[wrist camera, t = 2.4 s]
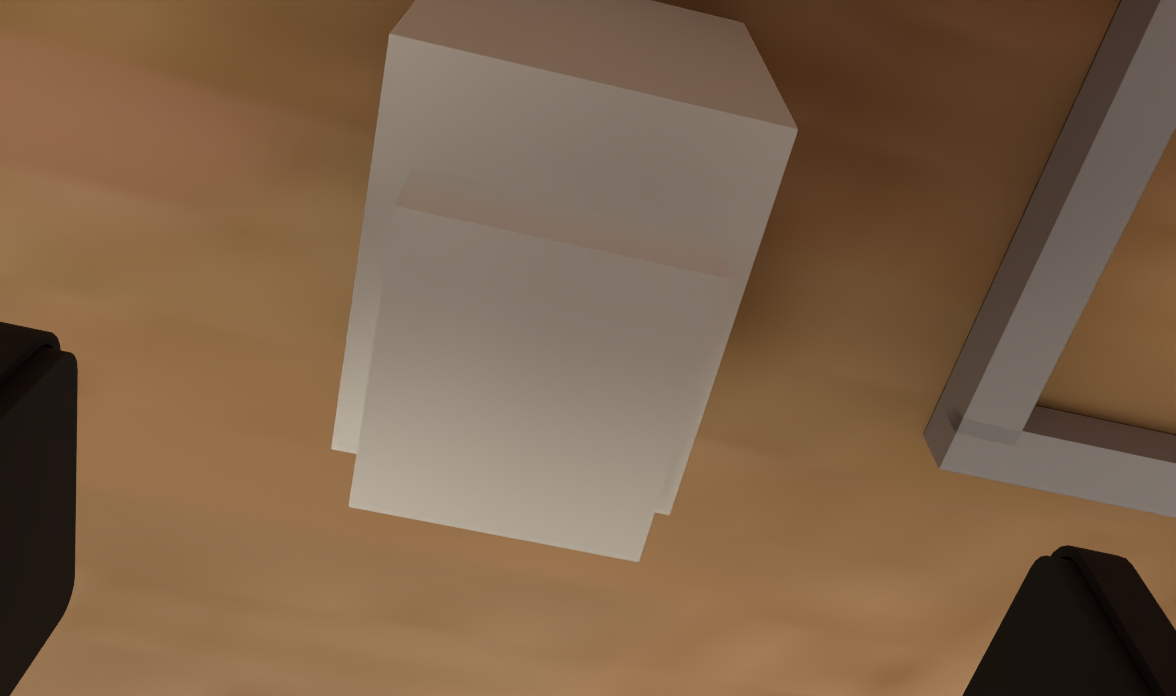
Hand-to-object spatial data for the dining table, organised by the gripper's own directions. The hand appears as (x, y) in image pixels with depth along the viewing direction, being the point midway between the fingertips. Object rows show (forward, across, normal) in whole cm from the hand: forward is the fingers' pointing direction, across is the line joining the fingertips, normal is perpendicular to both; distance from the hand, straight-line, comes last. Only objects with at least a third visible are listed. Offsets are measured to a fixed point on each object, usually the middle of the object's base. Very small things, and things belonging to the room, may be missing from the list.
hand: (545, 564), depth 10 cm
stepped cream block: (+11, 0, -1) cm, 11 cm away
